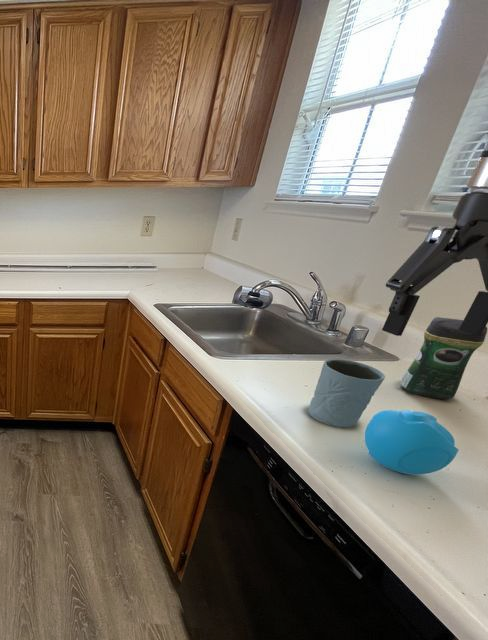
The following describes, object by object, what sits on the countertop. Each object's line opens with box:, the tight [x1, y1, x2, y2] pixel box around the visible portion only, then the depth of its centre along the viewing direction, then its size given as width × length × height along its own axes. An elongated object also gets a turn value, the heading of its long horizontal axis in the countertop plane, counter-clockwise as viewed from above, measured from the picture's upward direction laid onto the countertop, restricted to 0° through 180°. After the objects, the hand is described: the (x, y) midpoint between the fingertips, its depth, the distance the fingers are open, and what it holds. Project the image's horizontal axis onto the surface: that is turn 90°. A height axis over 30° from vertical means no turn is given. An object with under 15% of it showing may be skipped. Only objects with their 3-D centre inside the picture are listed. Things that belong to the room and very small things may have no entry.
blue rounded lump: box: [364, 409, 460, 475], centre depth 74 cm, size 12×11×12 cm
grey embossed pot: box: [307, 358, 386, 428], centre depth 89 cm, size 10×10×12 cm
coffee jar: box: [400, 316, 488, 400], centre depth 99 cm, size 10×8×19 cm
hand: (430, 332), depth 68 cm, fingers open, 13 cm apart
